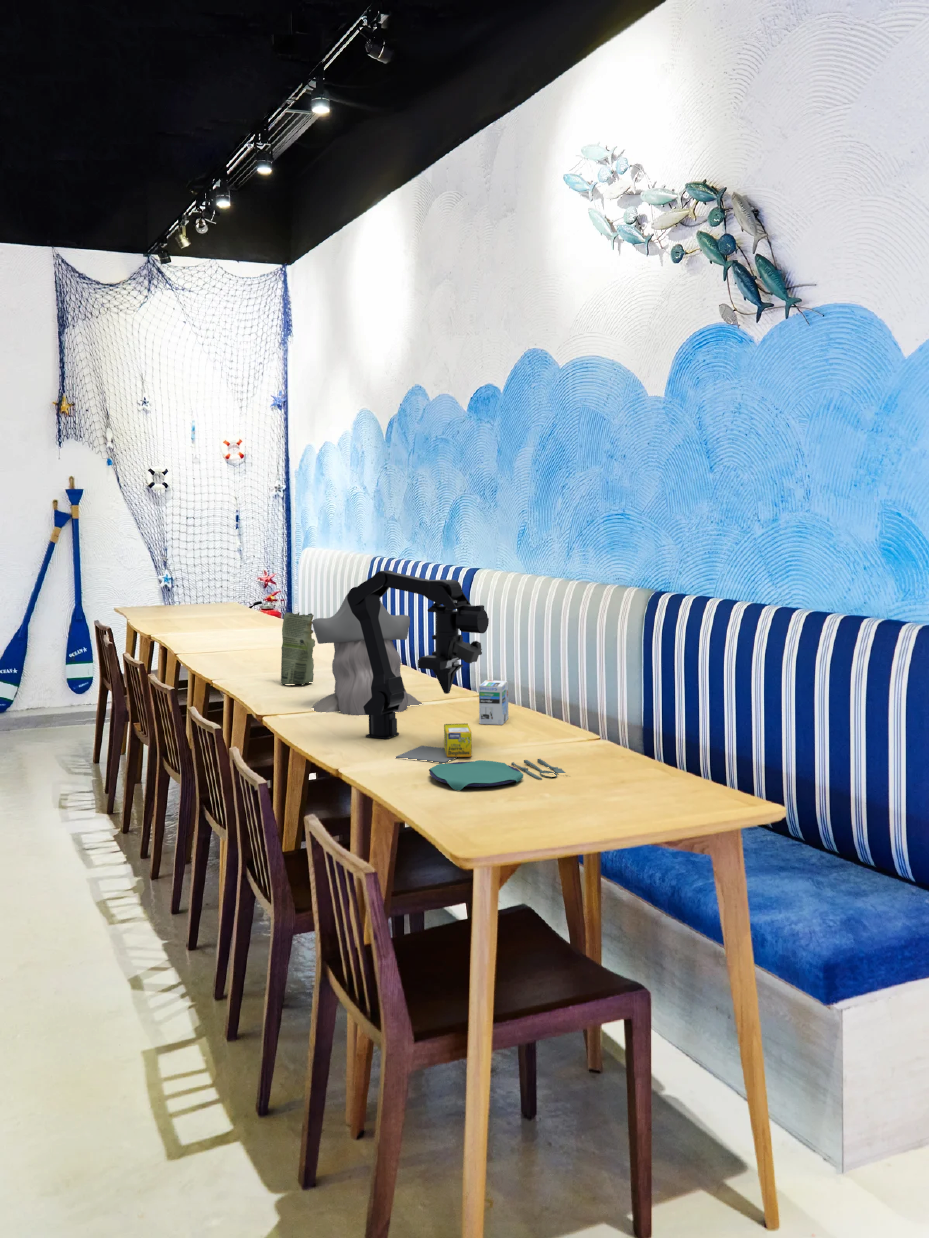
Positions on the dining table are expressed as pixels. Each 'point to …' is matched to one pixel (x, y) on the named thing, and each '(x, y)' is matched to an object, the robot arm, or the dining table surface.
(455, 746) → the supplement box
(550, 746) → the dining table surface
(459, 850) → the dining table surface
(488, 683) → the light bulb box
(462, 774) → the cutlery set
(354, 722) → the dining table surface
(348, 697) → the gray wizard statue
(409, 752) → the mat
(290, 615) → the pouch
